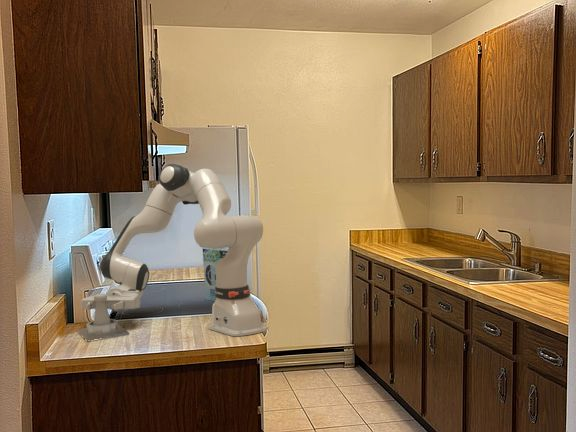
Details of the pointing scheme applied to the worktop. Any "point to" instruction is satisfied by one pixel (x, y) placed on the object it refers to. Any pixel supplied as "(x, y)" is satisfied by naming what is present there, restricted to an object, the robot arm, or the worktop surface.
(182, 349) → the worktop surface
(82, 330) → the duct flange
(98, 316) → the salt shaker
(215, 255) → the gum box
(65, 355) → the worktop surface
